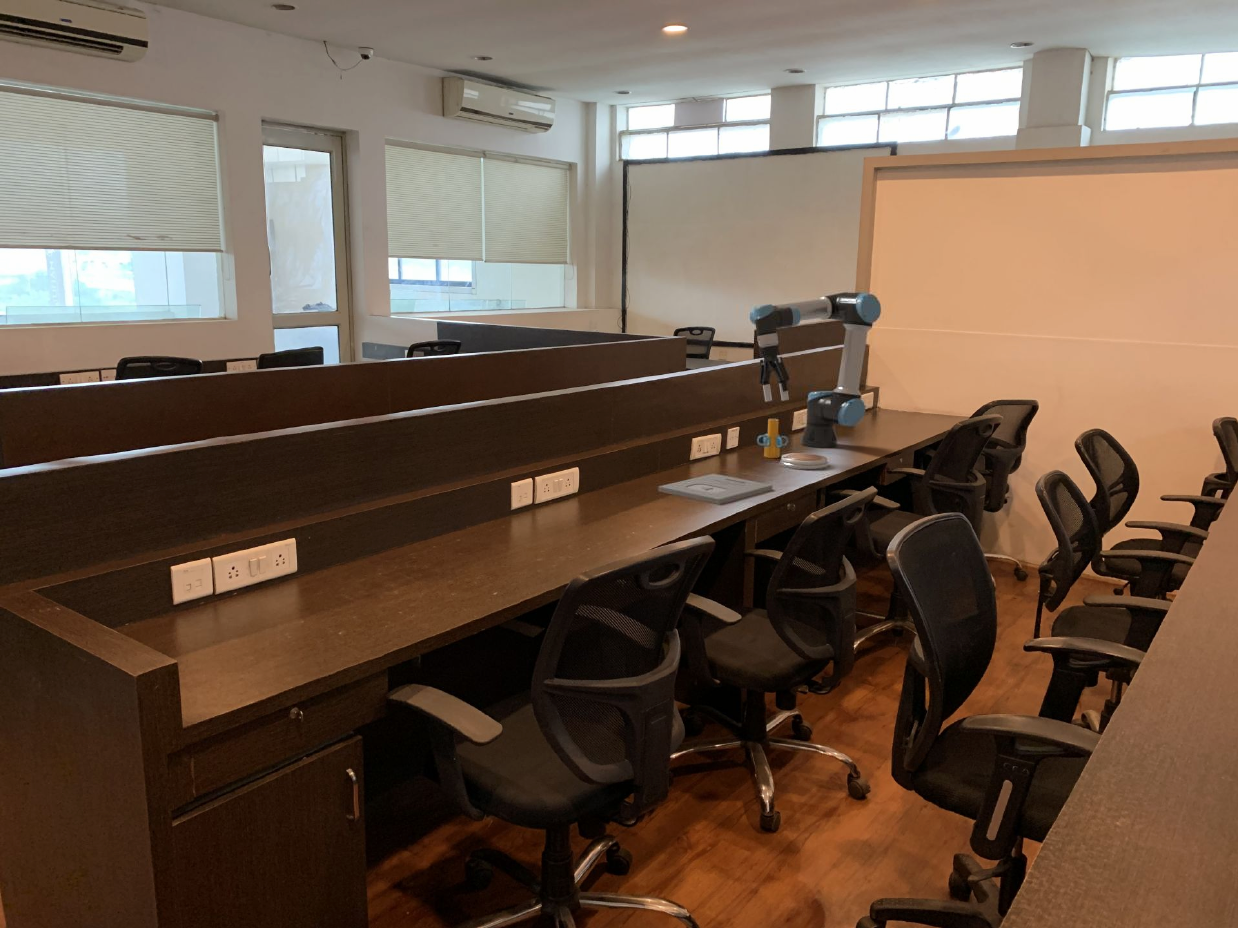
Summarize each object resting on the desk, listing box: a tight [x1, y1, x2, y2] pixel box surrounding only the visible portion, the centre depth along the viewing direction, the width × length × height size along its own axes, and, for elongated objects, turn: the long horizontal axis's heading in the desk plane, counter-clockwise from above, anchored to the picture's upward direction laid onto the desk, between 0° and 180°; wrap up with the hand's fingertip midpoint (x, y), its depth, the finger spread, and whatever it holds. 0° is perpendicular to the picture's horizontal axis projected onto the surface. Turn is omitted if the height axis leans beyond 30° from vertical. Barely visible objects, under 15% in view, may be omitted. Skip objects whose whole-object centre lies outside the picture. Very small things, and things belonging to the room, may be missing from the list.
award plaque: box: [658, 473, 773, 505], centre depth 307 cm, size 25×30×2 cm
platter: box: [781, 452, 828, 466], centre depth 351 cm, size 17×17×2 cm
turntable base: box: [779, 458, 829, 471], centre depth 352 cm, size 18×18×2 cm
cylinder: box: [756, 418, 789, 459], centre depth 366 cm, size 12×10×15 cm
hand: (776, 400), depth 356 cm, fingers open, 13 cm apart
